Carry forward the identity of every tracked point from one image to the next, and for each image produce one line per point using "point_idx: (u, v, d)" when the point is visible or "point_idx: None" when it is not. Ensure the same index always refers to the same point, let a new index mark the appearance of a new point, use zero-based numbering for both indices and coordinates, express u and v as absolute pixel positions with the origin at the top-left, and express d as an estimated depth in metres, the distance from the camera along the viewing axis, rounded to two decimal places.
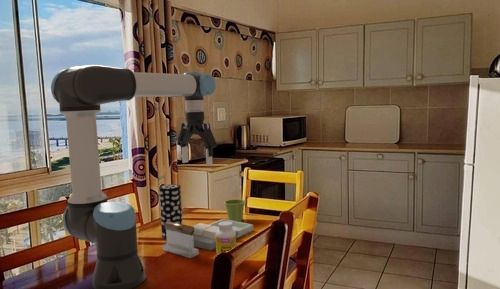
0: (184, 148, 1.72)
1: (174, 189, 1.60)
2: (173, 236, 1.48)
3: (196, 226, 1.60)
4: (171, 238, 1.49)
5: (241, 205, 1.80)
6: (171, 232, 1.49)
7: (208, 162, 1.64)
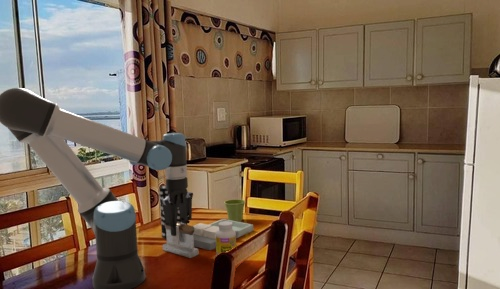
0: None
1: None
2: None
3: (196, 226, 1.60)
4: (171, 237, 1.49)
5: (241, 205, 1.80)
6: None
7: (173, 241, 1.46)
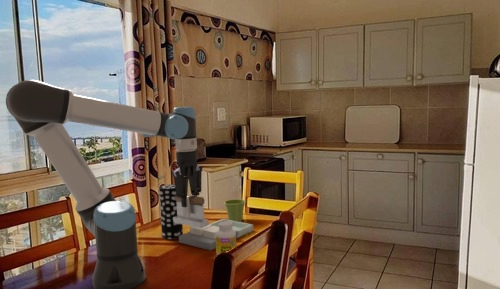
0: None
1: (174, 189, 1.60)
2: None
3: None
4: (181, 209, 1.53)
5: (241, 205, 1.80)
6: (181, 204, 1.52)
7: (184, 212, 1.49)
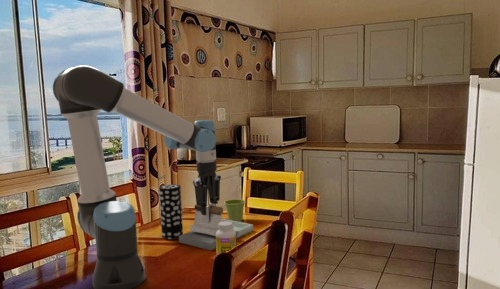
0: None
1: (174, 189, 1.60)
2: (201, 217, 1.60)
3: None
4: (199, 218, 1.60)
5: (241, 205, 1.80)
6: (200, 213, 1.60)
7: (203, 219, 1.58)
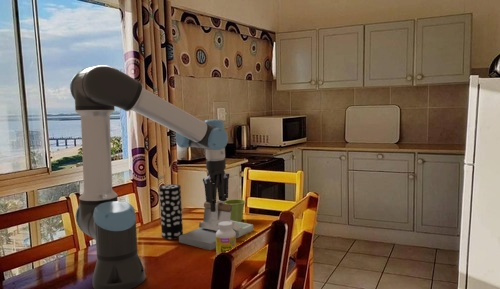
0: (219, 202, 1.64)
1: (174, 189, 1.60)
2: (211, 214, 1.64)
3: None
4: (208, 216, 1.65)
5: (241, 205, 1.80)
6: (209, 210, 1.64)
7: (212, 216, 1.62)
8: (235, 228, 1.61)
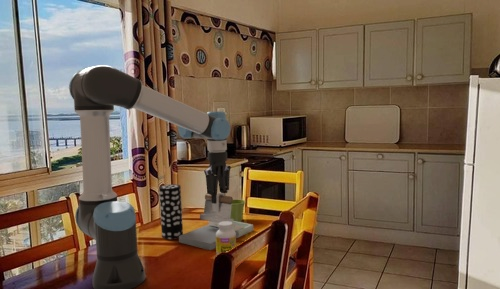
0: (219, 194, 1.64)
1: (174, 189, 1.60)
2: (211, 206, 1.64)
3: None
4: (209, 208, 1.65)
5: (241, 205, 1.80)
6: (210, 202, 1.65)
7: (213, 208, 1.62)
8: (236, 229, 1.62)
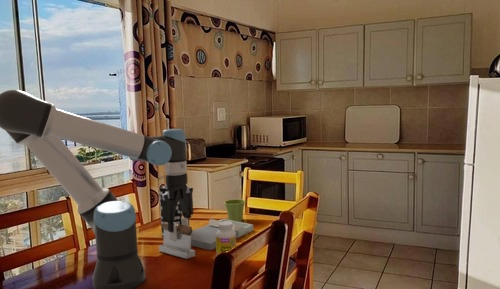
0: (182, 219, 1.49)
1: None
2: None
3: None
4: (168, 238, 1.48)
5: (241, 205, 1.80)
6: (168, 232, 1.48)
7: (170, 237, 1.45)
8: (236, 229, 1.62)
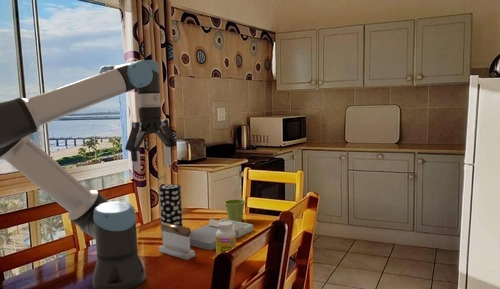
0: (165, 148, 1.49)
1: (174, 189, 1.60)
2: (169, 237, 1.47)
3: None
4: (167, 239, 1.48)
5: (241, 205, 1.80)
6: (167, 233, 1.47)
7: (134, 167, 1.38)
8: (236, 229, 1.62)
